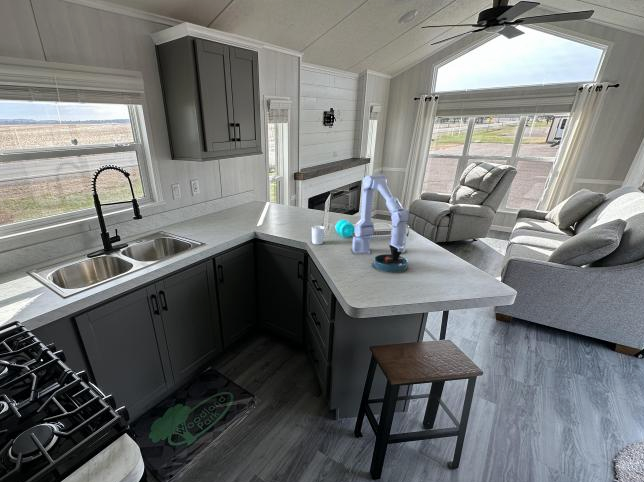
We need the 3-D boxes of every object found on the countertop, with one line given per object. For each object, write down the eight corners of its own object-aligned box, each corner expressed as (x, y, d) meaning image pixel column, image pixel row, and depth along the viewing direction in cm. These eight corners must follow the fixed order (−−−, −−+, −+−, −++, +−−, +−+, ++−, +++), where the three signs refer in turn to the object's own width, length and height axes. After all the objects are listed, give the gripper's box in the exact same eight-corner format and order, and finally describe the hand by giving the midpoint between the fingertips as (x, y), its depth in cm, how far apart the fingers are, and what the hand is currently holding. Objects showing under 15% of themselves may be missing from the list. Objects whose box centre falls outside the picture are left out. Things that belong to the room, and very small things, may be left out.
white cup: (310, 241, 208) (310, 226, 204) (322, 240, 209) (323, 225, 205) (312, 245, 201) (313, 229, 197) (325, 244, 202) (326, 229, 198)
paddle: (386, 263, 166) (387, 259, 165) (385, 262, 167) (386, 257, 166) (402, 263, 165) (403, 259, 164) (401, 262, 167) (402, 258, 166)
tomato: (385, 263, 171) (386, 258, 170) (384, 261, 174) (384, 255, 173) (391, 263, 171) (391, 258, 170) (389, 261, 174) (390, 255, 173)
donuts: (340, 238, 210) (341, 223, 206) (334, 234, 219) (335, 219, 215) (354, 237, 212) (355, 222, 208) (348, 232, 221) (349, 218, 217)
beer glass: (406, 253, 184) (410, 227, 178) (393, 253, 185) (397, 227, 179) (404, 249, 190) (408, 224, 184) (392, 248, 191) (395, 224, 185)
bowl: (377, 273, 162) (378, 266, 160) (370, 260, 176) (371, 254, 175) (410, 273, 160) (412, 266, 159) (401, 260, 175) (402, 254, 174)
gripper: (410, 239, 153) (406, 265, 159) (402, 230, 167) (398, 254, 172) (395, 239, 154) (392, 265, 159) (387, 230, 167) (384, 254, 173)
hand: (394, 260), depth 166 cm, fingers closed on paddle, 2 cm apart
